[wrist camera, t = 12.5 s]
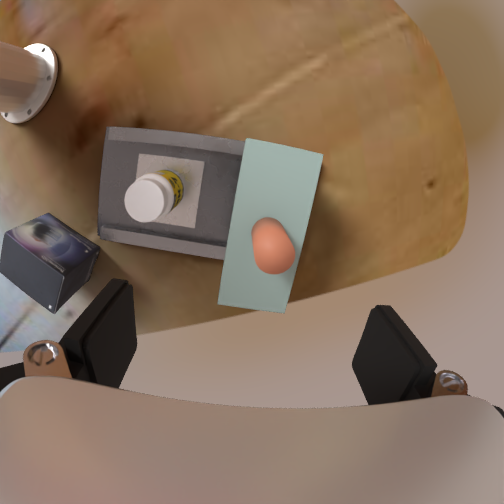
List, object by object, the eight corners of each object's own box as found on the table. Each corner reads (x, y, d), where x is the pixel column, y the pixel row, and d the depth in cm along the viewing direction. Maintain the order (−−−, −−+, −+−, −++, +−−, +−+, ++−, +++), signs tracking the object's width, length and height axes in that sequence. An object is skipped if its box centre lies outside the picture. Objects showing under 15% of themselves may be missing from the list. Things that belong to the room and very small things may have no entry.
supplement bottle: (186, 208, 34) (170, 226, 26) (148, 210, 34) (122, 228, 26) (184, 167, 32) (166, 173, 24) (145, 170, 32) (118, 178, 24)
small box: (102, 245, 37) (65, 276, 27) (89, 281, 38) (55, 317, 29) (48, 209, 34) (3, 230, 25) (38, 246, 36) (-3, 273, 26)
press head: (223, 260, 35) (213, 338, 21) (244, 141, 30) (248, 134, 16) (272, 268, 36) (293, 347, 21) (298, 152, 31) (345, 156, 17)
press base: (102, 231, 36) (93, 237, 33) (111, 127, 31) (102, 126, 29) (292, 263, 39) (296, 271, 36) (316, 157, 34) (322, 158, 31)
